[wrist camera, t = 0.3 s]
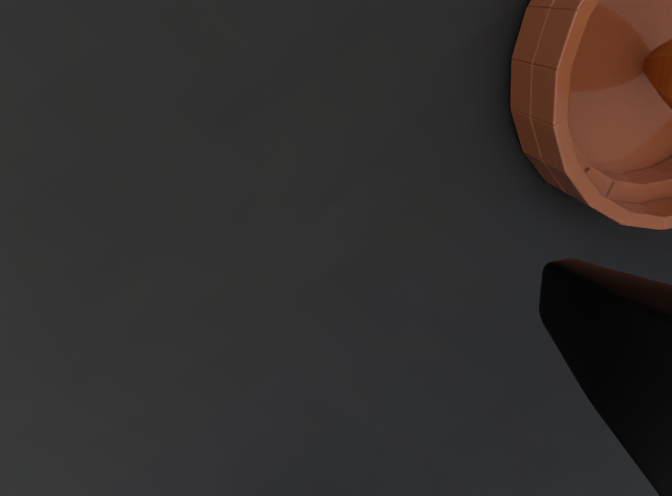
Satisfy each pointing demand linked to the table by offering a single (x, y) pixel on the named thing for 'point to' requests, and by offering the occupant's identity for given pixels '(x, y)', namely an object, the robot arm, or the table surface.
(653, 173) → the bowl
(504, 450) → the table surface
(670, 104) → the carrot
